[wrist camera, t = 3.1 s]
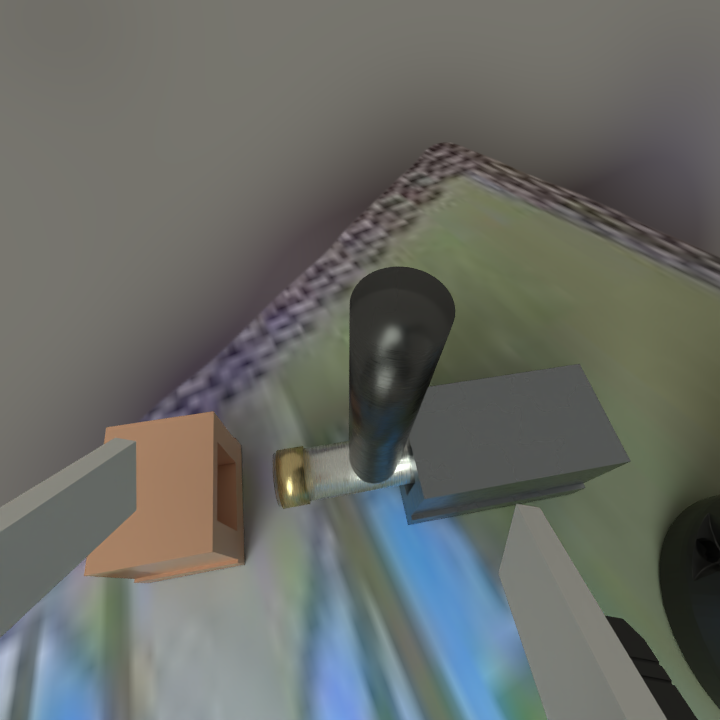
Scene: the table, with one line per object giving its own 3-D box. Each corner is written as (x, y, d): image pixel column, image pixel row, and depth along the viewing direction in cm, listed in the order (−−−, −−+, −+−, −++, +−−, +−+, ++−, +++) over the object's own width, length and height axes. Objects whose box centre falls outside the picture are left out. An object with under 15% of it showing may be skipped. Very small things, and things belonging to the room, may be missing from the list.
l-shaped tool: (554, 414, 29) (784, 215, 14) (575, 461, 27) (867, 293, 12) (279, 460, 27) (187, 284, 11) (283, 513, 25) (181, 392, 10)
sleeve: (532, 405, 32) (577, 360, 26) (570, 494, 28) (633, 466, 22) (386, 428, 30) (396, 387, 24) (408, 524, 27) (426, 504, 21)
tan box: (241, 445, 30) (213, 408, 23) (244, 564, 26) (212, 556, 20) (157, 459, 29) (106, 424, 23) (147, 583, 25) (83, 580, 19)
